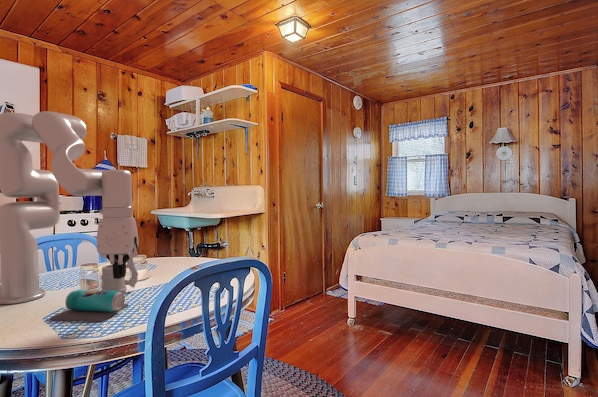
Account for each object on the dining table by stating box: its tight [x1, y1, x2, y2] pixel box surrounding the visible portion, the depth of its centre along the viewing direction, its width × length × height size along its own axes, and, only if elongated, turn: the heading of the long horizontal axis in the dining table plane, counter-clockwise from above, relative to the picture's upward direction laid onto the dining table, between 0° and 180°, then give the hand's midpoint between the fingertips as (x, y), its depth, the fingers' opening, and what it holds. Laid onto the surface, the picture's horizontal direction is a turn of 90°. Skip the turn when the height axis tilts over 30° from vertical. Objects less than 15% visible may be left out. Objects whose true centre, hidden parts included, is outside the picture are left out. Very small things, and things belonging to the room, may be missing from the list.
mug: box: [100, 257, 139, 296], centre depth 115 cm, size 8×12×12 cm, turn 139°
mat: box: [49, 303, 129, 323], centre depth 98 cm, size 15×12×1 cm
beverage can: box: [64, 289, 126, 312], centre depth 98 cm, size 6×6×15 cm
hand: (119, 277), depth 96 cm, fingers closed
